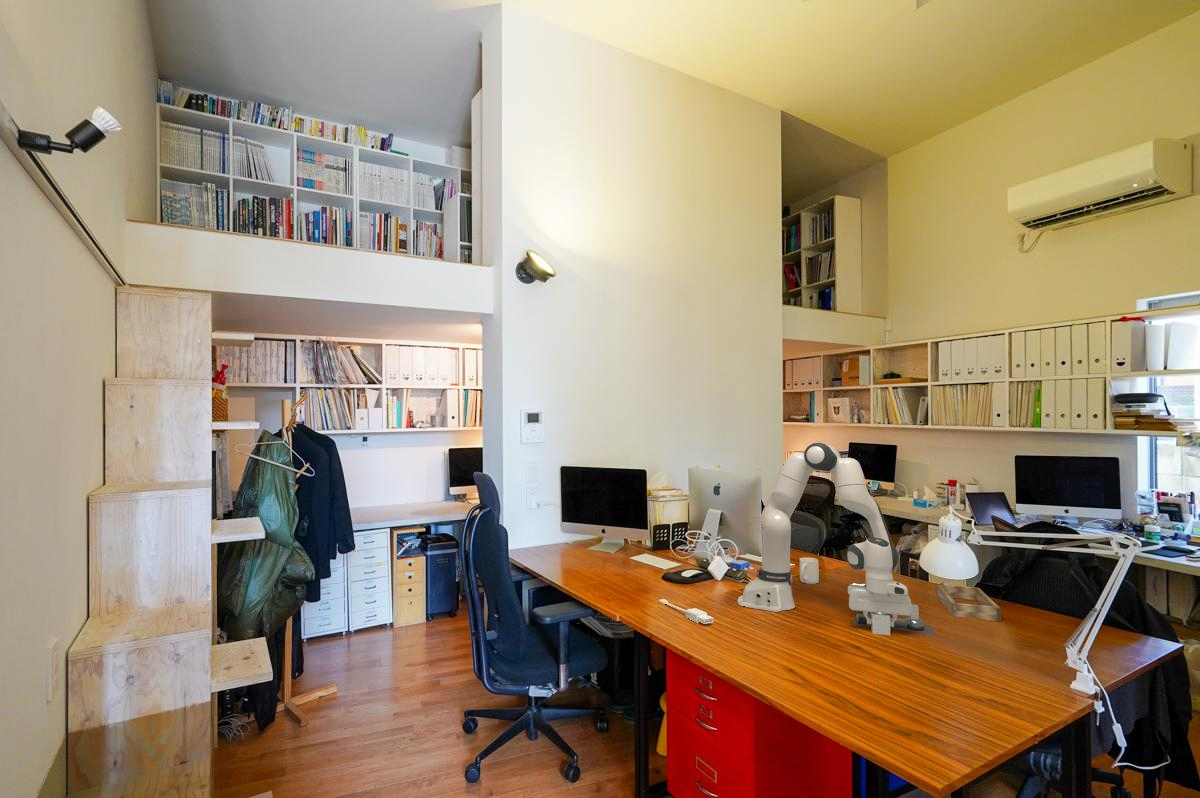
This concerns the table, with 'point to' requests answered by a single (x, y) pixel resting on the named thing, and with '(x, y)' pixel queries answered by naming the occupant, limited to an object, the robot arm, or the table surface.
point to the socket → (880, 623)
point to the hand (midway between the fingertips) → (880, 625)
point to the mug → (809, 570)
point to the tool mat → (926, 628)
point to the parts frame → (983, 611)
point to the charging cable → (693, 614)
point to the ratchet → (901, 620)
